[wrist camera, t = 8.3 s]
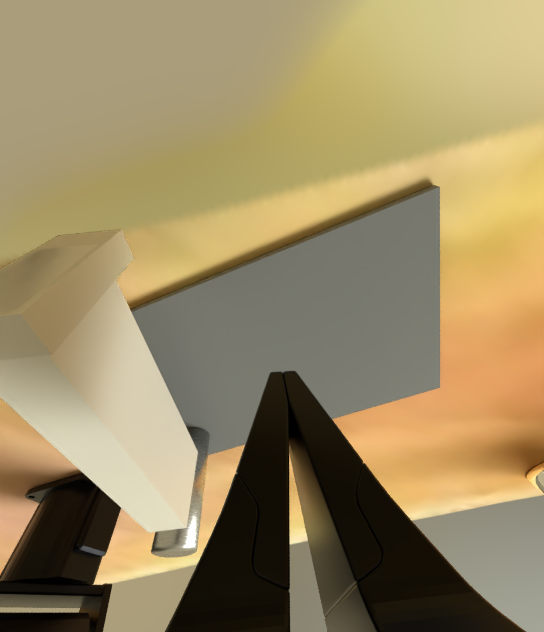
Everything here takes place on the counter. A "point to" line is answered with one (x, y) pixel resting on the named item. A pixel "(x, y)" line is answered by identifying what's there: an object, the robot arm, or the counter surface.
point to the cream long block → (94, 376)
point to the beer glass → (537, 477)
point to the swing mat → (308, 322)
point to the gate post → (187, 538)
